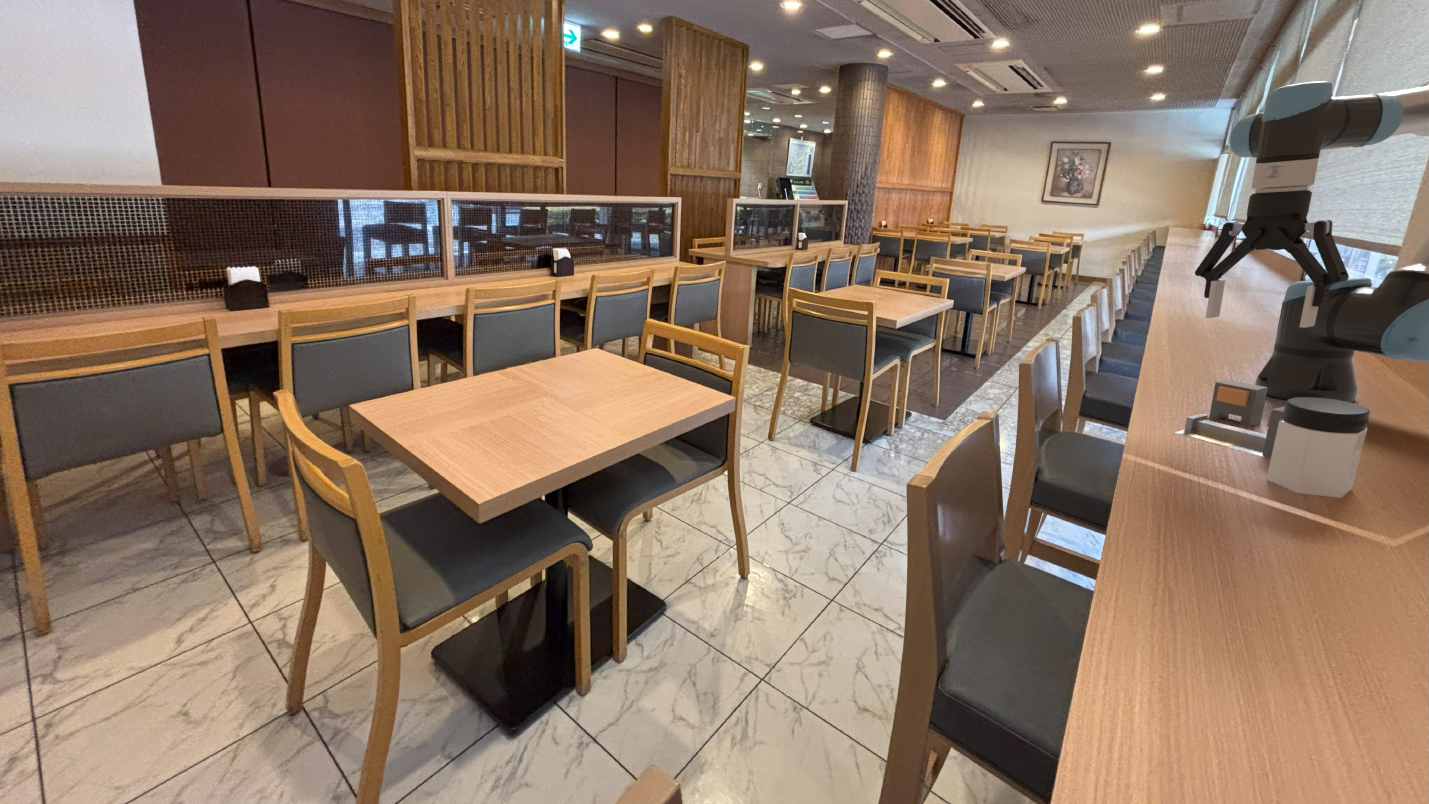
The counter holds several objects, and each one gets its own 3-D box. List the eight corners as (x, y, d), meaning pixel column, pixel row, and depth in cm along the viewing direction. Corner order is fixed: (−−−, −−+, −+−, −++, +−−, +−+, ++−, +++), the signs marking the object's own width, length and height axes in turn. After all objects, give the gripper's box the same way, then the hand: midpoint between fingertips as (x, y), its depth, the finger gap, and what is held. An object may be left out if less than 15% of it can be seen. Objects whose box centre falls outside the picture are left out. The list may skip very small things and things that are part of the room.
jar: (1337, 507, 81) (1359, 419, 77) (1258, 487, 87) (1275, 405, 84) (1357, 489, 85) (1380, 405, 82) (1281, 471, 92) (1298, 393, 88)
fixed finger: (1311, 452, 96) (1322, 408, 94) (1287, 460, 94) (1297, 414, 92) (1281, 445, 100) (1291, 402, 98) (1257, 452, 97) (1266, 408, 95)
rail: (1206, 427, 111) (1209, 411, 110) (1352, 464, 93) (1357, 445, 92) (1173, 435, 107) (1176, 419, 107) (1318, 475, 90) (1322, 456, 89)
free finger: (1219, 417, 115) (1226, 379, 113) (1259, 426, 110) (1268, 387, 108) (1206, 420, 114) (1213, 382, 112) (1246, 430, 108) (1254, 390, 106)
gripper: (1182, 196, 109) (1166, 316, 115) (1373, 185, 87) (1340, 334, 93) (1209, 194, 112) (1191, 311, 118) (1399, 183, 90) (1366, 327, 96)
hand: (1256, 321), depth 106 cm, fingers open, 13 cm apart
